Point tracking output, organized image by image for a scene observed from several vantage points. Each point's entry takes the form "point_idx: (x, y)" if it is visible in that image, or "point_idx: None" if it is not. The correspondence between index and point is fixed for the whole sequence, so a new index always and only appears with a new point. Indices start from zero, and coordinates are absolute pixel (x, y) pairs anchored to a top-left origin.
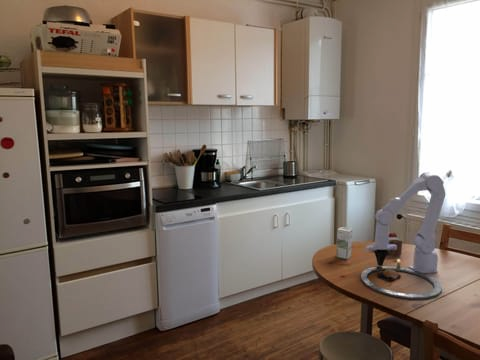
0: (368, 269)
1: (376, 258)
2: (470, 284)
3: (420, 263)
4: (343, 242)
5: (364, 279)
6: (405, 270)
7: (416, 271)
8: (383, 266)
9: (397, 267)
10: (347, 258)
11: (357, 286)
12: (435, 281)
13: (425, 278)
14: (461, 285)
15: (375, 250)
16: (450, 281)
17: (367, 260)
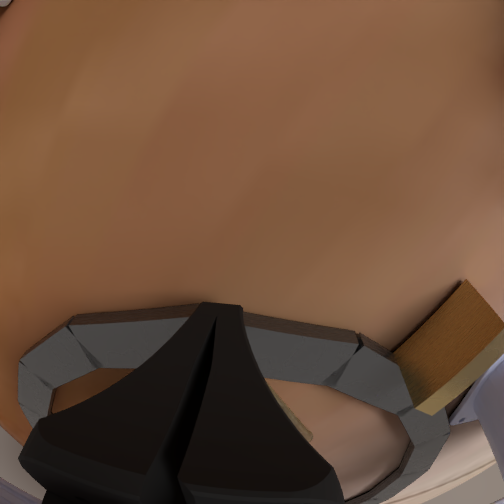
0: (68, 347)
1: (161, 350)
2: (484, 466)
3: (492, 451)
4: None
5: (34, 421)
6: (398, 414)
7: (439, 429)
8: (264, 334)
9: (391, 375)
10: (1, 3)
11: (16, 419)
12: (389, 493)
13: (400, 465)
14: (454, 477)
15: (61, 500)
16: (463, 462)
17: (224, 10)
